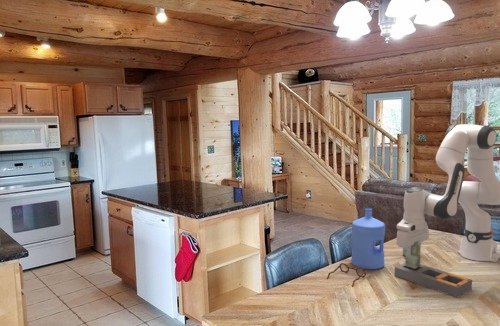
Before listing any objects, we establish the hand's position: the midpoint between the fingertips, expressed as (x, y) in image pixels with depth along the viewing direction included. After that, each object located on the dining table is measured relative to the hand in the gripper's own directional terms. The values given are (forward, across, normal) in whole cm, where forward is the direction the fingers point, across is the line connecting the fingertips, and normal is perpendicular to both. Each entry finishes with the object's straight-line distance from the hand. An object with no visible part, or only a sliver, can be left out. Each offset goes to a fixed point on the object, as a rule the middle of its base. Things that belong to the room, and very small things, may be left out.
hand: (413, 252), depth 176 cm
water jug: (+11, +5, -21) cm, 24 cm away
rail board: (+10, 0, +9) cm, 14 cm away
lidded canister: (+11, -22, -15) cm, 29 cm away
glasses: (+11, +27, -16) cm, 33 cm away
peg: (+6, 0, 0) cm, 6 cm away
